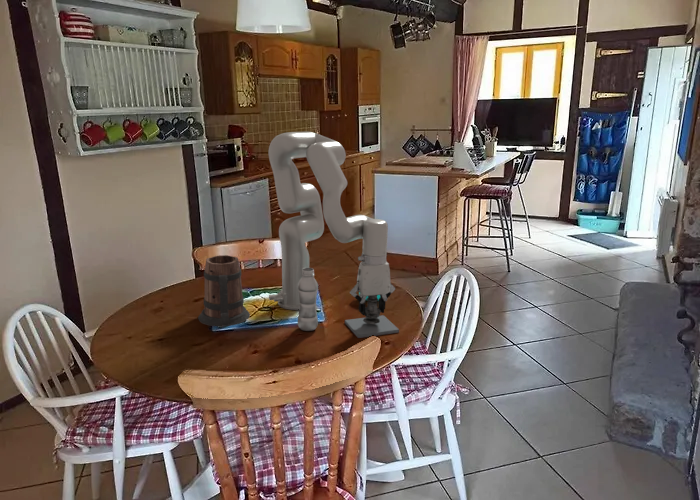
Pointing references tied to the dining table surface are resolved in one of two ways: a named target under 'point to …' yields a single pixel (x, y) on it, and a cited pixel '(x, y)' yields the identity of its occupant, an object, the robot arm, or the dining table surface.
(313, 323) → the plastic bottle
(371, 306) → the stone chess piece
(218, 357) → the dining table surface
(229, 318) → the tankard
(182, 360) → the dining table surface
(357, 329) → the mat
